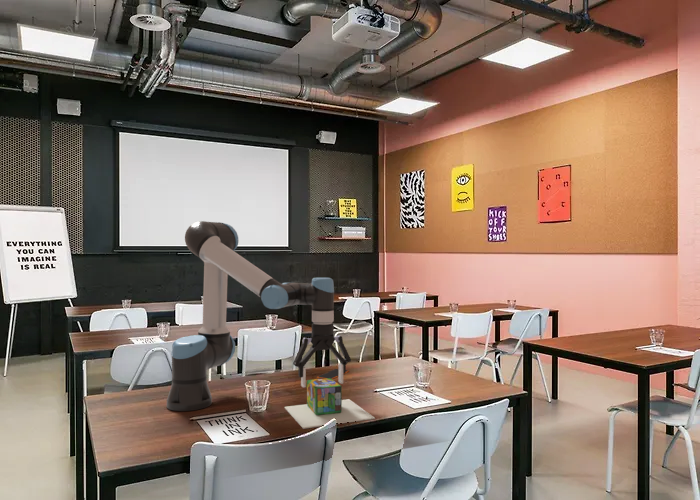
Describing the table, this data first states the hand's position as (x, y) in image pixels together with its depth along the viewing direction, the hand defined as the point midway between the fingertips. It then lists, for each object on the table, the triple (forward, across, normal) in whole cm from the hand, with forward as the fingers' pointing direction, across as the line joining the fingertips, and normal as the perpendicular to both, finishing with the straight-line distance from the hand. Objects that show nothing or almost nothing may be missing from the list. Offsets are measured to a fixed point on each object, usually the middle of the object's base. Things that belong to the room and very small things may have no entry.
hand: (322, 384), depth 173 cm
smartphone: (+9, -20, -43) cm, 49 cm away
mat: (+8, 0, +6) cm, 10 cm away
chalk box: (+3, 0, -4) cm, 5 cm away
